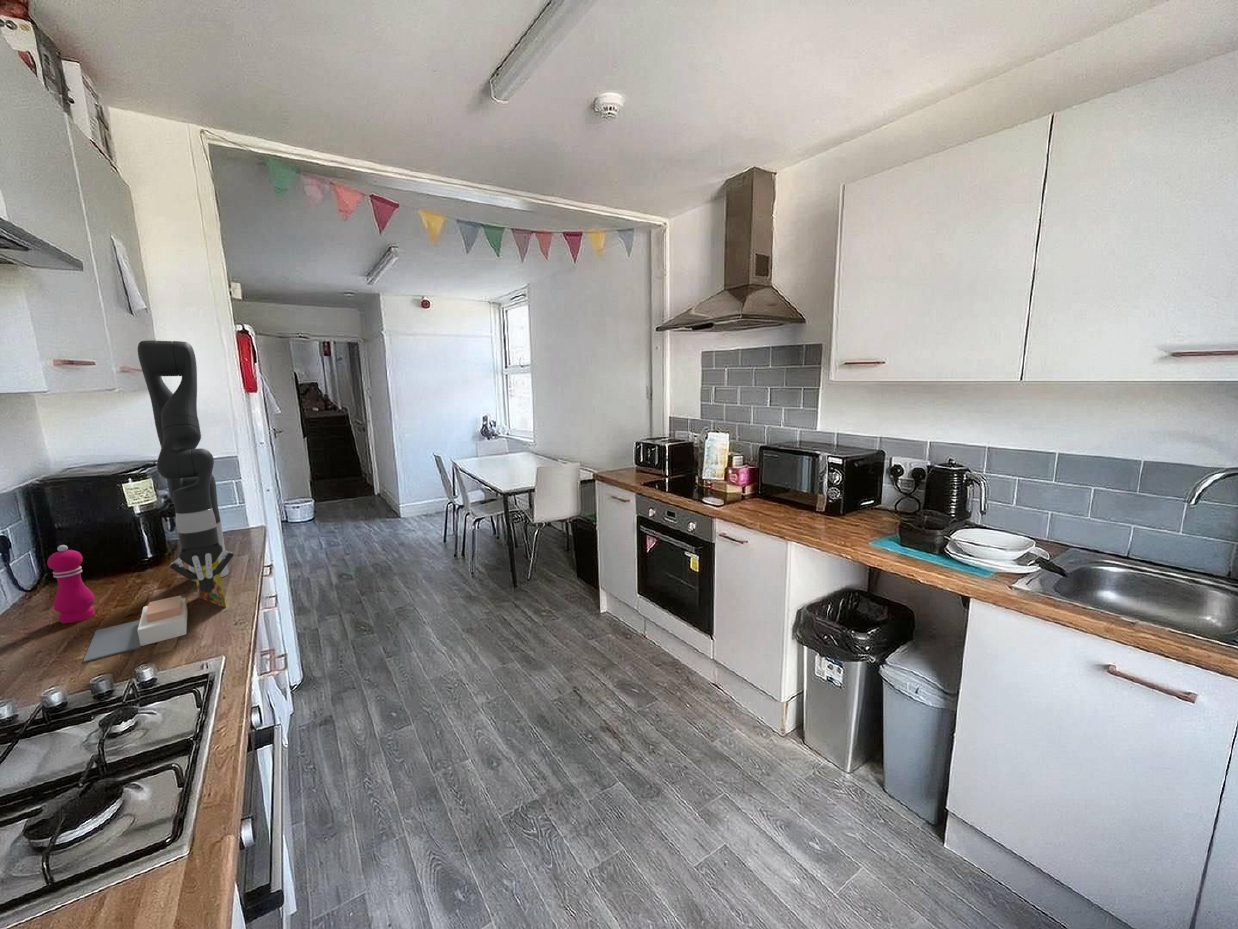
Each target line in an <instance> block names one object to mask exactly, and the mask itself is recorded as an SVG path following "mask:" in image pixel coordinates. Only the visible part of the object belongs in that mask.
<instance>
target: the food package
mask: <svg viewBox="0 0 1238 929" xmlns="http://www.w3.org/2000/svg"><path fill="white" fill-rule="evenodd" d="M218 564H219V560H218V558H217V560H216V561H215V562H214V563H213V564H212V570H214V569H215V568H216V567H217V566H218ZM202 569H203V573H204V576H205V577H207V576H206V566H202ZM194 572H195V573H196V571H195V567H194ZM213 580H214V586H215V587H214V589H212V592H209V593H204V591H203V592H201V590H200V585H199V581H198V580H196V582H195V583H196V588H197V594H198V598H200V599H201V600H202V599H203V600H205V601H208V602H210V603H212V604H215V605H217V606H220V607H222V608H227V605H226V598H225V592H224V585H223V579H222V577H221V573H220V574H217V575H215V576H214V577H213Z"/></svg>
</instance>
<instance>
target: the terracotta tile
mask: <svg viewBox="0 0 1238 929" xmlns="http://www.w3.org/2000/svg"><path fill="white" fill-rule="evenodd" d="M182 598H183V597H182V595H181V594H180V595H176V596H173V597H172V596H171V597H167V598H162V599H157V600H153V601H149V602H148V605H147V606H148V609H147V613H146V617H147V622H153V621H157V620H161V619H165V618H169V617H174V616H178V615H181V611H182Z"/></svg>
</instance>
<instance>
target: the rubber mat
mask: <svg viewBox="0 0 1238 929" xmlns="http://www.w3.org/2000/svg"><path fill="white" fill-rule="evenodd" d="M139 623H140V619H139V620H138V619H137V620H134V621H131V622H125V623H121V624H120V623H119V624H118V625H113V626H108V627H105V628H100V629H96V630H95V632H94V634H93V637H92V640H91V642H90V644H89V646H88V649H87V651H86V653H85V655H84V658H83V660H82V662H83V664H85V663H88V662H92V661H95V660H99V659H103V658H106V657H107V658H108V657H111V656H115V655H120V654H123V653H126V652H130V651H134V650H138V649H141V647H142V646H140V641H139V635H138V626H139Z"/></svg>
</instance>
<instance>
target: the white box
mask: <svg viewBox="0 0 1238 929" xmlns="http://www.w3.org/2000/svg"><path fill="white" fill-rule="evenodd" d="M181 598H182V611H181V615H178V616H174V617H169V618H165V619H161V620H157V621H153V622H147V617H146V613H147V609H148V605H146V606H143V608H142V613H141V615H140V616H141V617H140V619H139V620H140V623H139V626H138V635H139V641H140V646H141V647H142V646H147V645H150V644H155V643H158V642H162V641H166V640H170V639H174V638H178V637H182V636H185V635H187V628H188V626H187V625H188V605H187V600H186V597H181Z"/></svg>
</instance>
